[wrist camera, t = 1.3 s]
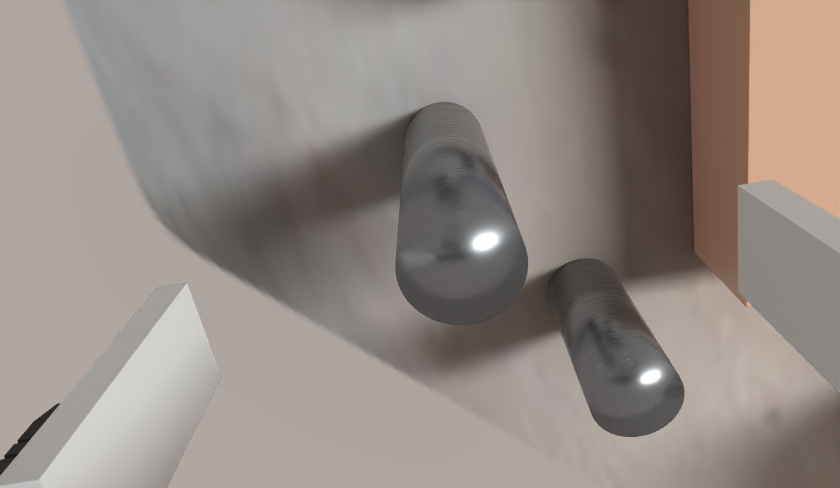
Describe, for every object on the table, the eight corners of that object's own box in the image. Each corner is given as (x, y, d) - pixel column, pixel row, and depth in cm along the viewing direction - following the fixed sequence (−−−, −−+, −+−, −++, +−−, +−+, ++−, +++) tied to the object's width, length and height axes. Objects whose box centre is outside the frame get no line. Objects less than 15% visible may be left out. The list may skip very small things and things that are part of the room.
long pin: (397, 110, 26) (383, 218, 15) (476, 95, 26) (519, 194, 15) (413, 184, 27) (409, 334, 16) (488, 170, 27) (535, 313, 16)
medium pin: (543, 265, 29) (585, 367, 22) (616, 253, 29) (683, 352, 21) (551, 326, 30) (593, 442, 23) (620, 315, 30) (685, 429, 23)
